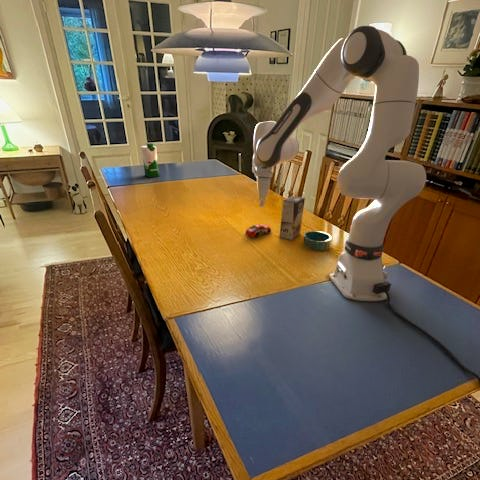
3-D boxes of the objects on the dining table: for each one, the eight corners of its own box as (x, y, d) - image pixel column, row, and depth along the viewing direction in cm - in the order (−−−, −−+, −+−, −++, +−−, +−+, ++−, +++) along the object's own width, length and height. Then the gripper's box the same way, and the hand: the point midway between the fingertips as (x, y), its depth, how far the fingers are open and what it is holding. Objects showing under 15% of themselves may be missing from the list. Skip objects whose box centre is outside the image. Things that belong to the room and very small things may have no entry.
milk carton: (149, 177, 228) (145, 144, 216) (143, 175, 233) (138, 142, 222) (161, 176, 232) (157, 143, 221) (154, 173, 238) (151, 141, 226)
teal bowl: (331, 252, 140) (333, 242, 137) (304, 251, 140) (305, 241, 137) (326, 241, 149) (328, 231, 146) (301, 240, 149) (302, 230, 146)
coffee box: (292, 240, 149) (296, 203, 139) (279, 237, 151) (282, 200, 142) (300, 233, 155) (305, 197, 146) (287, 230, 158) (291, 195, 148)
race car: (264, 228, 159) (265, 220, 157) (273, 232, 156) (273, 223, 153) (243, 235, 152) (243, 226, 150) (251, 239, 149) (251, 230, 146)
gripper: (254, 161, 145) (252, 195, 153) (256, 173, 128) (254, 210, 136) (269, 162, 145) (267, 195, 153) (273, 173, 128) (270, 210, 136)
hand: (261, 202), depth 144 cm, fingers open, 8 cm apart
